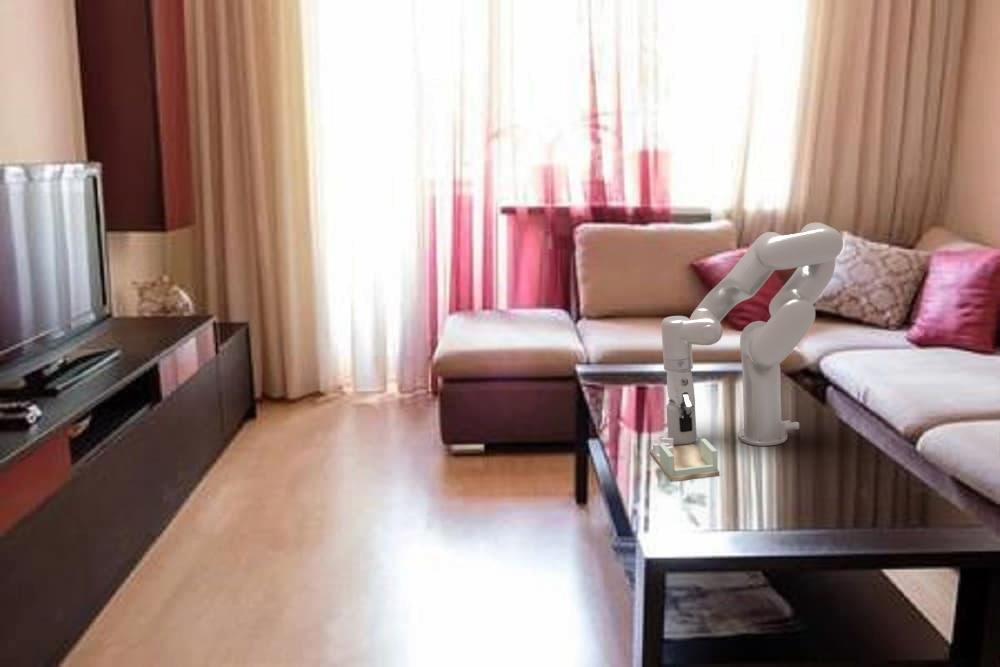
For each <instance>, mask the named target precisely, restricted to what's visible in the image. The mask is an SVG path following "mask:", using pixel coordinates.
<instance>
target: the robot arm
mask: <svg viewBox="0 0 1000 667" xmlns="http://www.w3.org/2000/svg"><path fill="white" fill-rule="evenodd" d="M843 246H844V240H843V237H842V235H841V233H840V232H839V231H838V230H836V228H833V227H831V226H830V225H828V224H825V223H822V222H810V223H807V224H806V225H805V226H803V227H802V229H801V230H800V232H797V233H791V234H780V233H778V232H773V231H767V232H764V233H762V234H760V235H759V237H757V238H756V239H755V240H754V242H753V243H752V244H751V246H750V247H749V248H748V249H747V250H746V252H745V253H744V254H743V255H742V256H741V258H739V259H738V260H739V261H737V263H735V265H734V267H733V268H732V269H731V270H730V272H729V273H727V275H726V276H725V277H724V278H722V279H721V281H719V283H717V285H715V286H714V287H713V288H712V289H711V290H710V291H709V292H708V293H707V294H706V296H704V298H703V300H701V302H700V303H699V304H698V306H697V307H696V308H695V309H694V310H693V312H692V313H691V315H690V317H687V316H684V315H671V316H667V317H664V318H663V319H662V321H661V339H662V340H661V341H662V354H663V355H662V357H663V358H662V359H663V370H664V371H666V389H667V397H668V400H669V399H671V402H672V403H675V406H676V407H678V408H679V412H680V417H679V422H680V432H689V431H692V414H691V413H692V411H691V409H692V406H695V407H696V397H695V396H696V394H695V387H694V380H693V374H692V370H693V368H694V366H693V365H694V362H693V345H694V346H695V345H696V346H713V345H715V344H717V343H718V342H719V341H720V340H721V338H722V337H723V326H722V324H721V321H722V320H723V319H724V318H725V317H726V316H727V314H728V313H729V312H730V311H731V310H732V309H733V308H734V307H735V306H736V305H738V304H739V303H741V302H743V301H747V300H749V299H751V298H752V297H754V296H755V295H756V294H757V293H758V292H759V290H760V289H761V288H762V287H763V285H764V284H765V283H766V282H767V280H768V279H769V278H770V277H771V275H772V274H773V273H774V272H775V271H783V270H792V269H795V270H794V272H793V274H792V275H791V276H790V277H789V278H788V280H787V281H786V282H785V284H784V285H783V286H782V287H781V288H780V289H779V291H778V292H777V293H776V294H775V296H774V297H773V298H771V300H770V302H769V306H768V312H769V315H770V318H769V319H767V322H766V321H762V320H757V321H752V322H750V323H749V324H747V325H746V326H745V327H744V328H743V330H742V331H741V334H740V339H739V347H740V349H739V350H740V357H741V365H742V366H741V367H742V368H741V369H742V405H743V407H742V408H743V429H741V430H740V431H738V434H737V438H738V439H739V441H740V442H742V443H745V444H747V445H751V446H758V447H759V446H763V447H764V446H765V447H766V446H767V447H769V446H776V445H780V444H782V443H785V442H786V441H787V440H788V432H789V430H799V429H800V422H798V421H793V422H792V421H791V420H788V419H787V420H782V408H781V407H782V404H781V396H782V395H781V394H782V393H781V364H782V362H783V361H784V360H785V359H787V357H788V356H789V355H790V354H791V353H792V352H793V350H794V349H795V348H796V347H797V346H798V345H799V343H800V342H801V341H802V340H803V339H804V337H805V336H806V335H807V334H808V332H809V331H810V330H811V328H812V327H813V325H814V322H815V319H816V309H815V305H814V303H815V302H817V300H818V299H819V297H820V296H821V294H822V293H823V292H824V291H825V289H826V288H827V286H828V285H829V284H830V282H831V280H832V279H833V275H834V272H835V268H836V258H837V257H838V256H839V255H840V254H841V252H842V251H843V248H844V247H843ZM681 404H685V406H681ZM682 409H685V410H684V411H682Z"/></svg>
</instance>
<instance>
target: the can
mask: <svg viewBox="0 0 1000 667" xmlns="http://www.w3.org/2000/svg"><path fill="white" fill-rule="evenodd" d="M667 402H668V403H667V404H666V422H667V423H666V425H667V438H673V441H674V446H684V445H692V444H694V442H696V441H697V439H698V437H697V434H698V433H697V420H696V419H697V418H696V405H695V406H692V409H691V411H692V413H691V414H692V431H689V432H680V422H679V417H680V412H679V408H678V407H676V406H675V403H672V402H671V399H669V398H668V401H667ZM681 406H685V404H681ZM684 410H685V409H682V411H684Z"/></svg>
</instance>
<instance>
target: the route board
mask: <svg viewBox="0 0 1000 667" xmlns="http://www.w3.org/2000/svg"><path fill="white" fill-rule="evenodd" d="M649 454H650V456H652V458H653V459H654V461H655V462H656V463H657V465H658V466H659V467H660V469H661V470H662V471H663V473H664V474H665V476H666V477H667V478H668V479H669V481H670V482H677V481H678V482H679V481H685V480H687V481H688V480H694V479H702V478H709V477H710V478H712V477H717V476H716V475H719V476H720V470H719V469H718V470H715V471H714V472H708V473H700V474H692V475H684V476H670V475H669V474H668V473H667V471H666V470H665V469H664V467H663V466H662V465H661V464H660V459H659V458H657V457H655V456H653V448H652V449H649ZM704 465H707V464H706V462H705V461H704V460H703V459H702V458H701V449H699V448H698V446H696V444H694V443H693V444H691V445H684V446H677V445H675V446H674V468H675V469H680V468H688V467H696V466H704Z"/></svg>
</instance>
